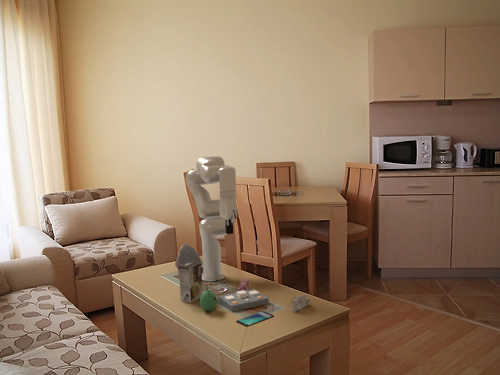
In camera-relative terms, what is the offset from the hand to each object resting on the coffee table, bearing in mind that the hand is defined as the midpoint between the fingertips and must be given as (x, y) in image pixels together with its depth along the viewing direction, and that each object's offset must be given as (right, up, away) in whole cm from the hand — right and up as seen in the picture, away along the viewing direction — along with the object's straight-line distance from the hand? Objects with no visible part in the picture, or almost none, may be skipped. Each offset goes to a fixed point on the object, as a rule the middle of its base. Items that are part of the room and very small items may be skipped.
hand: (229, 233), depth 214 cm
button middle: (+6, -28, -6) cm, 29 cm away
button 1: (+1, -30, -9) cm, 31 cm away
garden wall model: (+31, -31, -16) cm, 46 cm away
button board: (+6, -30, -7) cm, 31 cm away
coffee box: (-17, -30, 0) cm, 35 cm away
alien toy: (-8, -32, -15) cm, 36 cm away
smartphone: (+12, -33, -26) cm, 43 cm away
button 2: (+11, -29, -4) cm, 31 cm away
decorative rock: (-24, -25, +45) cm, 57 cm away
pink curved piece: (+6, -29, +7) cm, 30 cm away
